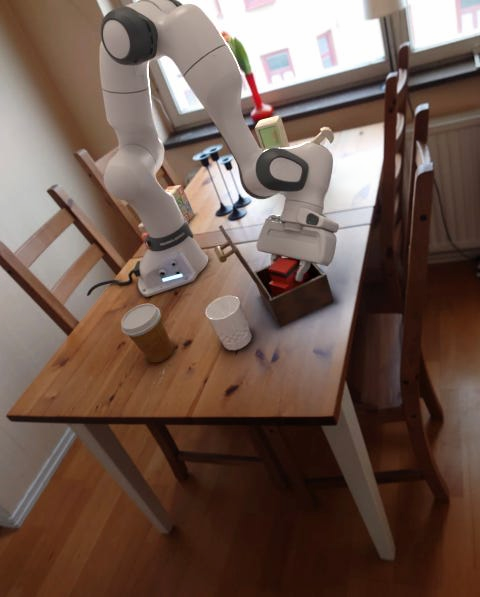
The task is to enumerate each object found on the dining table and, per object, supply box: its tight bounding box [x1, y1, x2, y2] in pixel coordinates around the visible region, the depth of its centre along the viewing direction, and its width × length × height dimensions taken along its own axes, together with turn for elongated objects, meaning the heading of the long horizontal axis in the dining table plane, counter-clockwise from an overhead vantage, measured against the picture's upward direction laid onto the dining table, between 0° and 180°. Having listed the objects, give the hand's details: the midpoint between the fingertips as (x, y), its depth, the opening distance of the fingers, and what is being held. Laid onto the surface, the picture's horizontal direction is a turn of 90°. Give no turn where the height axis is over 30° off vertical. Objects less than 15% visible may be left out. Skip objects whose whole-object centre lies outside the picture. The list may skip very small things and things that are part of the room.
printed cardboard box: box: [137, 184, 196, 235], centre depth 161 cm, size 21×6×12 cm, turn 152°
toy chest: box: [253, 257, 335, 328], centre depth 109 cm, size 14×14×8 cm
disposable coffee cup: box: [120, 302, 174, 363], centre depth 110 cm, size 10×10×12 cm
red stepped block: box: [268, 256, 310, 296], centre depth 108 cm, size 8×5×8 cm, turn 135°
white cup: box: [205, 295, 253, 351], centre depth 104 cm, size 8×8×10 cm
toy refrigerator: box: [254, 114, 291, 151], centre depth 162 cm, size 8×7×21 cm
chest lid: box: [213, 224, 270, 301], centre depth 103 cm, size 14×14×4 cm
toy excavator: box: [310, 126, 335, 145], centre depth 150 cm, size 9×17×17 cm, turn 89°
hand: (285, 278), depth 107 cm, fingers closed on red stepped block, 5 cm apart
